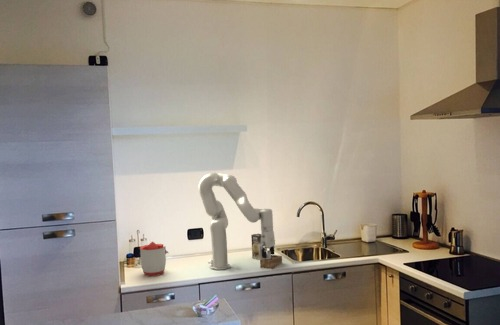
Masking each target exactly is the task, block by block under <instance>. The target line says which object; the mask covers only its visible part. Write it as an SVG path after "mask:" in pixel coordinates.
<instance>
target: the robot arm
mask: <svg viewBox="0 0 500 325" xmlns="http://www.w3.org/2000/svg"><path fill="white" fill-rule="evenodd" d="M213 187H220V188H221V187H222V188H224V190H225V191H226V192H227V194H228V195H229V196H230V198H231V199H232V200H233V201H234V203H235V204H236V206H237V208H238V209H239V210H240V212H241V213H242V214H243V216H244V217H245V219H246V220H247V221H248V222H250V223H257V222H258V221H260V231H261V233H260V234H261V245H260V248H261V251H262V258H267V252H266V249H267V250H268V249H269V250H268V251H271V255H275V245H276V240H275V239H276V238H275V231H274V223H273V222H274V218H273V209H271V208H254V207H253V206H252V204H251V203H250V202H249V200H248V196H247V193H246V192H245V191H244V190H243V188H242V187H241V186H240V184H238V181H237V178H236V177H235V176H234V175H233V174H225V173H219V172H210V173H206V174H205V175H204V176H202V177H201V179H200V181H199V183H198V192H199V196H200V198H201V200H202V204H203V207H204V210H205V213H206V214H207V215H208V216H209V217H211V220H212V221H211V223H210V226H209V227H210V228H209V229H210V237H211V254H212V257H211V259H209V260H208V264H210V269H211V270H215V271H221V270H227V269H230V268H231V264H230V263H228V262H229V261H228V260H229V259H228V240H227V239H228V238H227V232H226V231H227V230H226V229H227V228H228V226H229V220H228V217H227V213H226V211H225V208H224V206H223V204H222V202H221V201H220V200H217V197H216V195H215V193H214V191H213ZM264 248H265V249H264Z"/></svg>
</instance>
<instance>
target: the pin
mask: <svg viewBox="0 0 500 325" xmlns="http://www.w3.org/2000/svg"><path fill="white" fill-rule="evenodd" d="M266 252H267V258H266V260H271V255H272V254H271V251H269V250H267V251H266Z"/></svg>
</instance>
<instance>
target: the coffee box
mask: <svg viewBox="0 0 500 325" xmlns="http://www.w3.org/2000/svg"><path fill="white" fill-rule="evenodd" d="M260 245H261V233H253V234H251V253H252V254H251V256H252V257H251V258H252V259H255V260H258V261H260V260H261V259H263V258H262V251H261V248H260ZM264 249H265V248H264ZM266 251H268V248H267V249H266Z"/></svg>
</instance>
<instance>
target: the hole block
mask: <svg viewBox="0 0 500 325" xmlns="http://www.w3.org/2000/svg"><path fill="white" fill-rule="evenodd" d="M259 262H260V263H259V264H260V266H259V267H260V268H261V269H267V270H268V269H269V270H272V269H275V268H276V267H279V266H280V265H283V256H282V255H279V254H277V255H275V254H274V255H273V254H271V260H266V258H263V259H261V260H259Z"/></svg>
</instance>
